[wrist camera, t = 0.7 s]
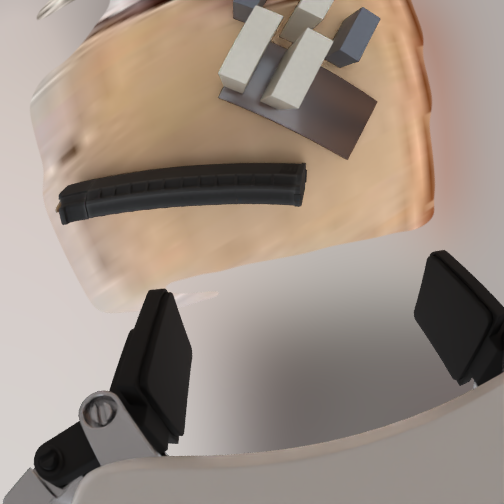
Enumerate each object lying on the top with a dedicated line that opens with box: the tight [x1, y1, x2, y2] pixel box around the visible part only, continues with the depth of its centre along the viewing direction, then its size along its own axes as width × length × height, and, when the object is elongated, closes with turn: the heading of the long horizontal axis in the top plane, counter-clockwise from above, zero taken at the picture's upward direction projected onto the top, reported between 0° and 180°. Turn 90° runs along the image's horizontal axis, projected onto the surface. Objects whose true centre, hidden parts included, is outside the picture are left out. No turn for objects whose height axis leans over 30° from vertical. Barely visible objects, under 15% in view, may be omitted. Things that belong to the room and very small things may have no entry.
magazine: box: [56, 163, 307, 225], centre depth 30 cm, size 17×3×30 cm
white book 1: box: [218, 5, 283, 94], centre depth 22 cm, size 7×2×11 cm, turn 155°
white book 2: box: [280, 0, 334, 43], centre depth 20 cm, size 7×2×11 cm, turn 155°
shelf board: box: [218, 42, 377, 160], centre depth 30 cm, size 9×17×1 cm, turn 65°
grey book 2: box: [325, 7, 380, 68], centre depth 24 cm, size 7×2×6 cm, turn 155°
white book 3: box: [260, 28, 333, 110], centre depth 23 cm, size 7×2×11 cm, turn 155°
